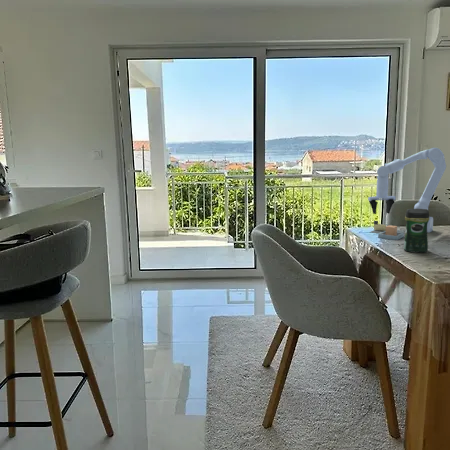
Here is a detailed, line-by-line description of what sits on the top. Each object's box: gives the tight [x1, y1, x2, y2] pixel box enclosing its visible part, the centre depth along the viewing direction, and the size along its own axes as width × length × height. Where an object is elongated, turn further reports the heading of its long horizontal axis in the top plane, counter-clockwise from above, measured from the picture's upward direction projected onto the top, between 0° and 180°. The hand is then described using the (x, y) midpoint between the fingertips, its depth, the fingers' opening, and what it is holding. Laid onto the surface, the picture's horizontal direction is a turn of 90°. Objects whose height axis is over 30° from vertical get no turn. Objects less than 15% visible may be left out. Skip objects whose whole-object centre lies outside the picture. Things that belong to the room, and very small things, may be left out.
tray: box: [377, 231, 405, 241], centre depth 195 cm, size 9×9×3 cm
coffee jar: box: [403, 208, 430, 253], centre depth 172 cm, size 10×8×19 cm
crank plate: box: [370, 229, 406, 234], centre depth 208 cm, size 14×14×1 cm
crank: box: [373, 220, 392, 231], centre depth 210 cm, size 9×3×5 cm, turn 48°
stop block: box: [385, 224, 398, 236], centre depth 195 cm, size 4×4×6 cm
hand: (381, 213), depth 215 cm, fingers open, 7 cm apart
